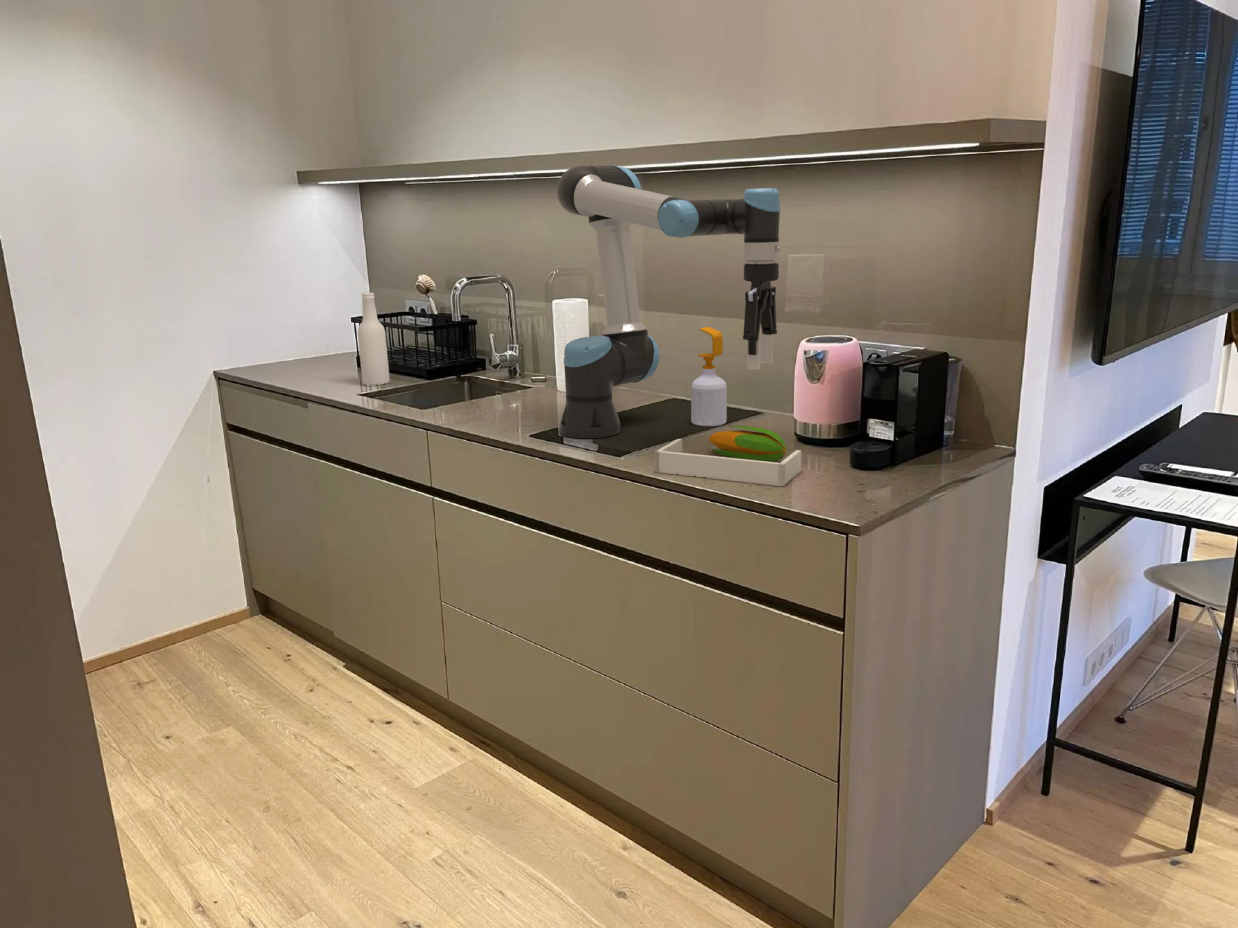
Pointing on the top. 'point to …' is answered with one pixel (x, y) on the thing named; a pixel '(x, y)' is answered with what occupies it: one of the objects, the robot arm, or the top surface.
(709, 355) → the soap bottle
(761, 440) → the corn
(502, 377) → the top surface
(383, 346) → the alcohol
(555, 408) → the top surface
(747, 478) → the tray
